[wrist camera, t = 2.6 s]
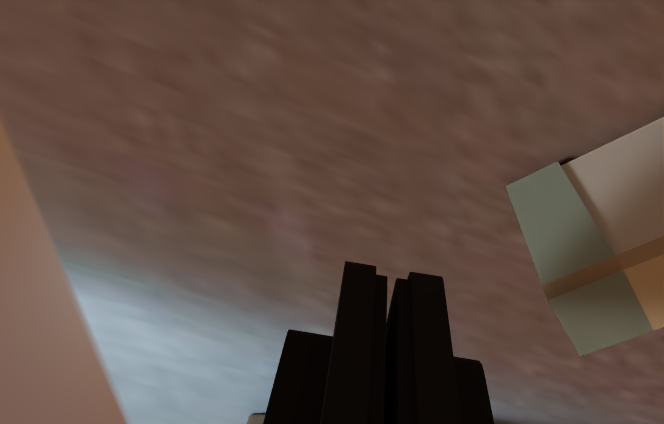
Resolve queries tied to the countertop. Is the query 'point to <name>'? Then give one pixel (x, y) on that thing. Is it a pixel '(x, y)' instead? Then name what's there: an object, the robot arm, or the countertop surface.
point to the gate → (600, 238)
